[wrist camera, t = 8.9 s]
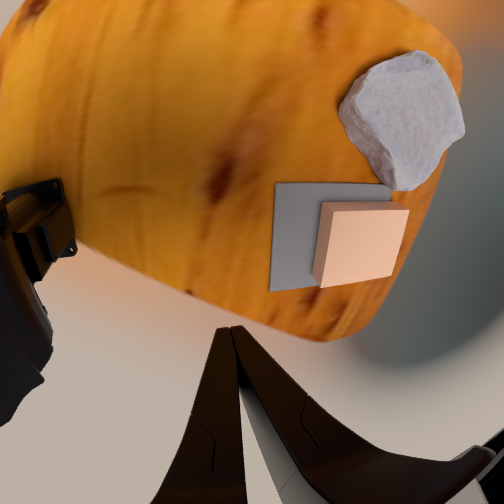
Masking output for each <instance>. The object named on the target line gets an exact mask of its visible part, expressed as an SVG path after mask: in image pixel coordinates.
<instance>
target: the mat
mask: <svg viewBox="0 0 504 504" xmlns="http://www.w3.org/2000/svg"><path fill="white" fill-rule="evenodd" d="M391 192H392V189H390V188H389V187H388V186H386V185H385V184H373V183H337V182H295V183H275V194H274V213H273V231H272V248H271V264H270V280H269V292H274V291H281V290H289V289H296V288H303V287H310V286H316V285H318V283H317V282H316V280H315V279H314V277H313V276H312V271H313V264H314V258H315V252H316V245H317V238H318V231H319V224H320V216H321V208H322V202H356V201H390V197H391Z"/></svg>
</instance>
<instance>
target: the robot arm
mask: <svg viewBox="0 0 504 504" xmlns="http://www.w3.org/2000/svg"><path fill="white" fill-rule="evenodd" d="M54 182H56V183H57V187H55V186H54ZM6 196H7V198H6ZM74 234H75V232H74V228H73V224H72V220H71V216H70V211H69V207H68V204H67V203H66V201H65V196H64V191H63V186H62V182H61V180H60V179H59V178H52V179H47V180H43V181H39V182H35V183H31V184H28V185H24V186H20V187H17V188H13V189H10V190H7V191H5V192H3V193H2V196H0V427H1V426H3V425H4V424H6V423H7V422H9V421H10V420H11V418H12V416H13V415H14V413H15V411H16V409H17V407H18V405H19V404H20V402H21V401H22V400H23V398H24V397H25V396H26V395H27V394H28V393H29V392H30V391H31V390H32V389H34V388H36V387H37V386H39V385H40V384H42V383H43V382H44V378H43V376H42V375H41V374H40V372H41V371H42V370H43V368H44V367H45V365H46V364H47V363H48V361H49V359H50V357H51V354H52V352H53V346H52V345H51V344H52V336H53V330H52V327H51V323H50V321H49V319H48V317H47V310H46V308H45V306H43V305H42V303H41V301H40V299H39V297H38V294H37V292H36V290H35V288H34V284H35V283H36V282H37V281H42V279H43V277H44V276H45V274H46V273H47V271H48V269H49V268H50V266H51V265H52V263H55V262H56V261H57V259H58V258H63V257H70V256H74V255H75V254H76V253H77V250H78V249H77V245H76V241H75V238H74ZM70 248H72V249H73V251H71V250H70ZM239 392H240V395H241V398H242V401H243V404H244V406H245V409H246V412H247V415H248V418H249V420H250V423H251V426H252V429H253V431H254V434H255V437H256V439H257V442H258V445H259V447H260V450H261V452H262V455H263V457H264V460H265V462H266V465H267V467H268V470H269V472H270V475H271V477H272V480H273V482H274V485H275V487H276V489H277V492H278V494H279V496H280V499H281V501H282V503H283V504H504V428H503V429H502V430H500V431H499V432H498V433H497V434H495V435H494V436H493V437H492V438H490V439H489V440H488V441H487V442H486V443H485V444H483V445H482V446H478V445H474V446H472V447H470V448H468V449H467V450H465V451H464V452H462V453H461V454H460V455H458V456H456V457H455V458H453V459H452V460H450V461H436V460H429V459H422V458H416V457H410V456H405V455H399V454H394V453H391V452H387V451H384V450H382V449H380V448H378V447H376V446H374V445H372V444H371V443H369V442H368V441H366V440H365V439H363V438H362V437H360V436H359V435H357V434H356V433H354V432H353V431H352V430H350V429H349V428H347V427H346V426H345V425H343V424H342V423H340V422H339V421H338V420H337V419H335V418H334V417H333V416H331V415H330V414H329V413H328V412H327V411H326V410H324V409H323V408H322V407H321V406H320V405H319V404H318V403H317V402H316V401H315V400H314V399H313V398H311V396H308V394H307V393H306V392H305V391H304V390H303V389H302V388H301V387H300V386H299V385H298V384H297V383H296V382H295V380H294V379H293V378H292V377H291V376H290V375H289V374H288V373H286V371H285V370H284V369H283V368H282V367H281V366H280V365H279V364H278V363H277V362H276V361H275V360H274V359H273V358H272V357H271V356H270V355H269V354H268V352H267V351H265V349H264V348H263V347H262V346H261V345H260V344H259V343H258V342H257V341H256V340H255V338H253V336H252V335H251V334H250V333H249V332H248V331H247V330H246V329H245V328H244V327H243V326H242V325H239V326H231V327H230V328H229V327H223V328H217V329H216V332H215V335H214V338H213V341H212V344H211V348H210V351H209V354H208V358H207V361H206V364H205V367H204V371H203V374H202V377H201V380H200V384H199V387H198V390H197V394H196V397H195V400H194V404H193V407H192V410H191V415H190V417H189V420H188V423H187V427H186V430H185V433H184V435H183V439H182V441H181V444H180V446H179V448H178V450H177V453H176V455H175V457H174V459H173V461H172V464H171V466H170V468H169V470H168V472H167V474H166V476H165V478H164V480H163V482H162V484H161V487H160V488H159V490H158V492H157V494H156V495H155V497H154V498H153V500H152V501H151V503H150V504H248V502H247V493H246V482H245V470H244V469H245V468H244V457H243V443H242V429H241V415H240V400H239Z"/></svg>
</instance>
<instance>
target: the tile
mask: <svg viewBox="0 0 504 504" xmlns="http://www.w3.org/2000/svg"><path fill="white" fill-rule="evenodd" d="M408 214H409V209H407V208H406V207H404V206H403V205H401V204H399V203H398V202H396V201H356V202H322V208H321V216H320V224H319V231H318V238H317V245H316V252H315V258H314V264H313V271H312V276H313V277H314V279H315V280H316V282H317V283H318V285H319V286H320V288H323V287H330V286H336V285H342V284H348V283H354V282H360V281H365V280H371V279H376V278H382V277H387V276H391V274H392V271H393V268H394V265H395V261H396V258H397V255H398V252H399V248H400V245H401V241H402V238H403V234H404V230H405V226H406V222H407V218H408Z"/></svg>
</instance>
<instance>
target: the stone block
mask: <svg viewBox="0 0 504 504" xmlns="http://www.w3.org/2000/svg"><path fill="white" fill-rule="evenodd" d="M338 116H339V118H340V121H341V122H342V124H343V126H344V129H345V131H346V134H347V136H348V138H349V140H350V141H352V143H353V144H354V145H355V146H356V147H357V148H358V150H359V151H360V152H361V153H363V154H364V155H365V157H366V158H367V160H368V163H369V164H370V167H371V168H372V170H373V171H374V173H375V174H376V175H377V177H378V178H379V180H380V181H381V182H382V183H384V184H385V185H386V186H388V187H389V188H390V189H392V190H394V191H411V190H413V189H415V188H416V187H417V186H418V185H420V184H422V183H424V181H425V180H426V179H427V178H428V177H429V176H430V174H431V173H432V172H433V171H434V169H435V168H436V166H437V165H438V163H439V161H440V158H441V156H442V154H443V152H444V151H445V150H446V149H447V148H448V147H449V146H450V145H451V144H452V142H454V141H456V140H458V139H460V138H461V137H462V136H463V135H464V133H465V126H464V122H463V117H462V112H461V108H460V105H459V102H458V99H457V96H456V93H455V91H454V88H453V86H452V84H451V81H450V79H449V77H448V75H447V74H446V72H445V71H444V70H443V68H442V67H441V65H440V64H439V62H438V61H437V60H436V58H433V57H430V56H429V55H428V53H427V52H425V51H420V50H412V51H410V52H407V53H405V54H403V55H401V56H396V57H394V58H392V59H390V60H386V61H383V62H381V63H379V64H377V65H375V66H373V67H371V68H370V69H369V70H368V71H367V72H366V73H365V74H363V75H361V76H360V77H359V78H357V79H356V80H355V81H354V82H353V85H352V86H351V88H350V90H349V91H348V93H347V95H346V96H345V98H344V100H343V102H342V103H341V104H340V107H339V111H338Z"/></svg>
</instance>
